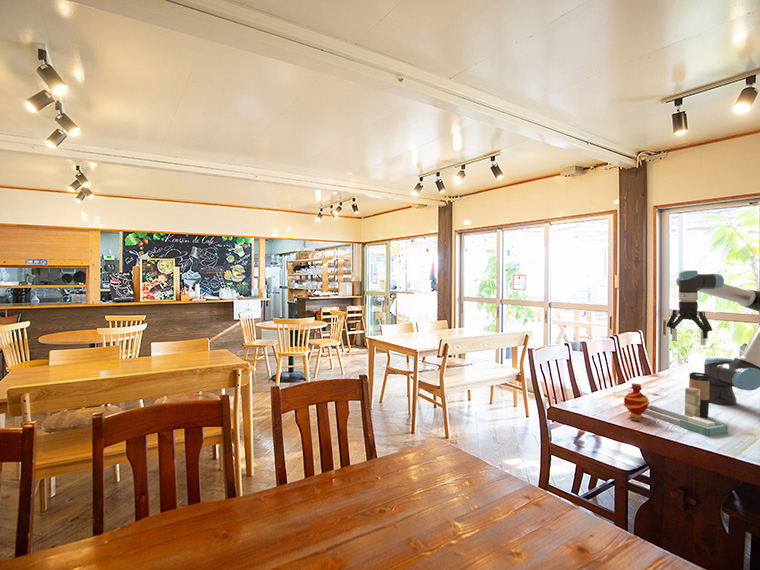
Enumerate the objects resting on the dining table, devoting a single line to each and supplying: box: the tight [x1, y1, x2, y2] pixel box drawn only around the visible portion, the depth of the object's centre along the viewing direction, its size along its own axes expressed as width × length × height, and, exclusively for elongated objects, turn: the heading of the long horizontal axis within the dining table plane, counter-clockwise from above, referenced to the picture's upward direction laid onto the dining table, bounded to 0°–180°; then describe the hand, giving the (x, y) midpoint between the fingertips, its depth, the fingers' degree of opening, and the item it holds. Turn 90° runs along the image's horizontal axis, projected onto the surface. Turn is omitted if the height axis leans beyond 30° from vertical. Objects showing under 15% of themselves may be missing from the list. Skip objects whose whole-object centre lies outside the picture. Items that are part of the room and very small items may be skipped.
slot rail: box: [643, 403, 689, 426], centre depth 190 cm, size 10×22×2 cm, turn 18°
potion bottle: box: [623, 383, 650, 419], centre depth 191 cm, size 10×10×15 cm
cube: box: [698, 418, 715, 427], centre depth 173 cm, size 4×4×4 cm
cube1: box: [688, 417, 705, 425], centre depth 177 cm, size 4×4×4 cm
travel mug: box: [688, 371, 710, 419], centre depth 192 cm, size 8×8×20 cm
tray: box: [679, 417, 729, 437], centre depth 174 cm, size 12×12×3 cm
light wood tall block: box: [684, 387, 700, 417], centre depth 188 cm, size 4×4×14 cm
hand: (688, 343), depth 202 cm, fingers open, 13 cm apart
